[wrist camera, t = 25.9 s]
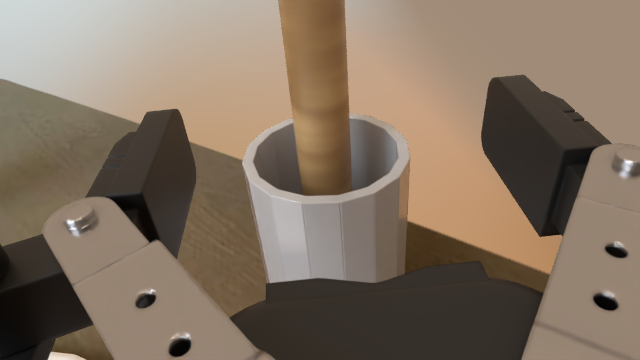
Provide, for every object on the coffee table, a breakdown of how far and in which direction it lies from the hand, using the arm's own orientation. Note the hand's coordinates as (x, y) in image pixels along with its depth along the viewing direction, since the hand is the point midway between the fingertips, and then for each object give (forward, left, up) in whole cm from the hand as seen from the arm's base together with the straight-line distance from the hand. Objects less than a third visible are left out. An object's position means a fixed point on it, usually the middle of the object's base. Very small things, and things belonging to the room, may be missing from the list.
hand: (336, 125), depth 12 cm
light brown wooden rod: (-2, -7, -16) cm, 17 cm away
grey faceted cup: (-2, -7, -16) cm, 18 cm away
